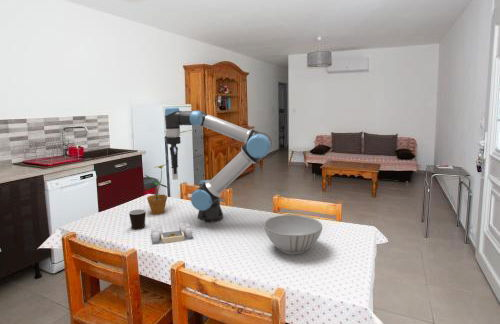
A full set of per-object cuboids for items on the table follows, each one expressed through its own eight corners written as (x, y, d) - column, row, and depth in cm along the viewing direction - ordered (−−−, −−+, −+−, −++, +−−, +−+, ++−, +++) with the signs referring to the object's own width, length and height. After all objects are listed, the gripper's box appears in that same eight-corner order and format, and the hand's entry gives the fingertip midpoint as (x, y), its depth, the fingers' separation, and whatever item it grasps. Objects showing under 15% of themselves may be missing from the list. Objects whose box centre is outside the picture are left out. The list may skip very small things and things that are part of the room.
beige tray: (189, 231, 182) (189, 221, 181) (194, 241, 169) (193, 230, 168) (150, 236, 176) (150, 225, 175) (152, 247, 163) (151, 235, 162)
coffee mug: (141, 232, 181) (140, 214, 179) (127, 231, 182) (125, 213, 181) (152, 225, 192) (151, 208, 190) (138, 224, 194) (137, 207, 192)
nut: (167, 237, 171) (167, 233, 171) (177, 236, 172) (176, 232, 172) (168, 240, 167) (167, 236, 167) (178, 239, 169) (178, 235, 168)
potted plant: (163, 206, 227) (160, 162, 222) (177, 212, 213) (175, 165, 208) (137, 212, 215) (134, 165, 210) (151, 219, 201) (148, 169, 196)
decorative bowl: (308, 267, 141) (308, 240, 139) (253, 253, 155) (252, 227, 153) (329, 244, 164) (330, 220, 161) (279, 233, 178) (280, 211, 175)
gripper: (164, 135, 188) (167, 177, 192) (167, 137, 176) (169, 182, 180) (178, 135, 190) (180, 176, 194) (181, 137, 178) (183, 181, 182)
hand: (175, 179), depth 187 cm, fingers closed
